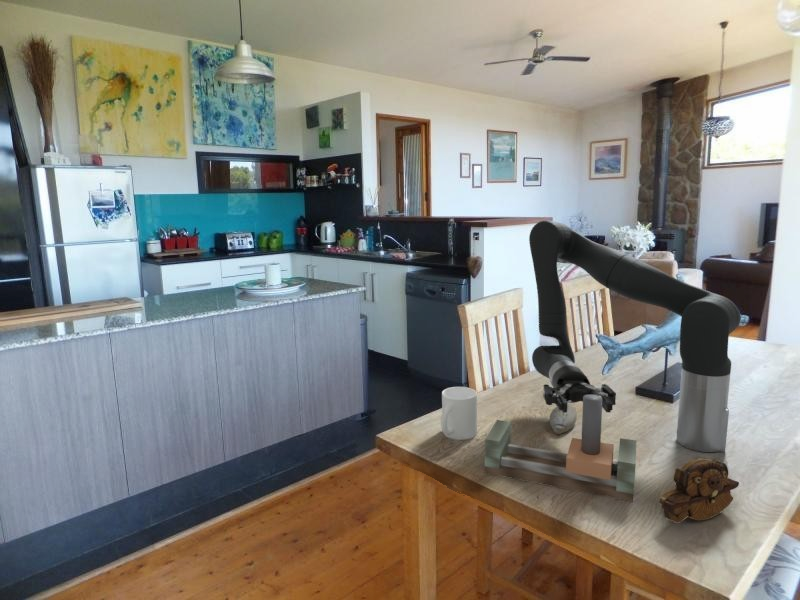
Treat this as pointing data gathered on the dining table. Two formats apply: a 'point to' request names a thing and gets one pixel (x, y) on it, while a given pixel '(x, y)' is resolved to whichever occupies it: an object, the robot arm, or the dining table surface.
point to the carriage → (590, 444)
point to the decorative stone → (563, 419)
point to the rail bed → (556, 465)
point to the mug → (459, 413)
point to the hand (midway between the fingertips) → (587, 408)
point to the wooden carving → (698, 491)
